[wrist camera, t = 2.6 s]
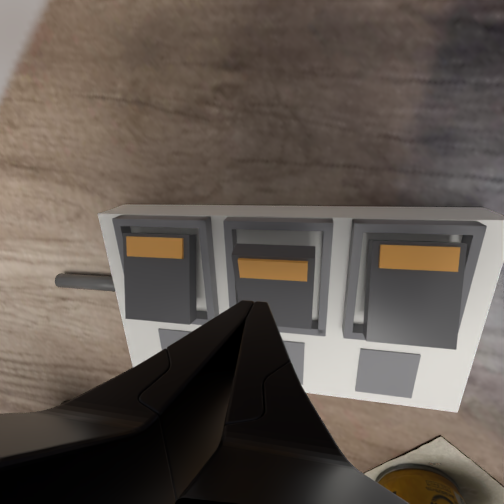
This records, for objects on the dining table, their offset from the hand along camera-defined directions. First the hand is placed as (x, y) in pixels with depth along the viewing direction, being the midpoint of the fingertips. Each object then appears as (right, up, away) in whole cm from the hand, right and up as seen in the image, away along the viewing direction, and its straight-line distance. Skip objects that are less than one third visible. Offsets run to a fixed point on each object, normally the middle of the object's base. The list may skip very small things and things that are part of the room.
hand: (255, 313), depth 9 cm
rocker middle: (+1, 0, +5) cm, 5 cm away
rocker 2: (+7, 0, +4) cm, 8 cm away
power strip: (-1, 0, +10) cm, 10 cm away
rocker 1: (-5, +1, +6) cm, 8 cm away
